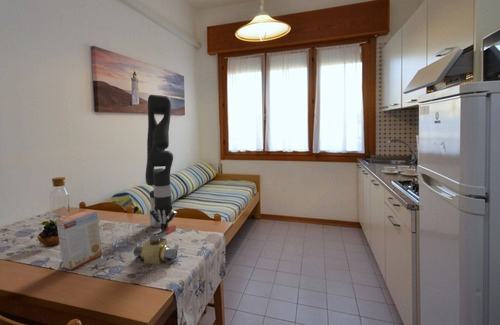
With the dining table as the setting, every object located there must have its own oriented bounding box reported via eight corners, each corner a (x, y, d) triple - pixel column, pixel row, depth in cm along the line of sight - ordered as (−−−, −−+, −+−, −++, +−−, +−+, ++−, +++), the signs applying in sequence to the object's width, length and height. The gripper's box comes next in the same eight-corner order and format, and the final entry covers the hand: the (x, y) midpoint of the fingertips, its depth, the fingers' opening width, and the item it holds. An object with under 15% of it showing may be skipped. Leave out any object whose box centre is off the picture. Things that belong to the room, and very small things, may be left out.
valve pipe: (132, 262, 113) (130, 243, 112) (142, 254, 120) (140, 236, 118) (171, 265, 110) (170, 246, 108) (179, 256, 116) (178, 239, 115)
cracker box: (94, 252, 122) (89, 209, 119) (102, 255, 119) (98, 210, 116) (61, 267, 109) (55, 219, 106) (70, 270, 107) (64, 221, 104)
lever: (155, 243, 111) (154, 238, 110) (147, 242, 112) (147, 236, 112) (177, 230, 124) (177, 225, 123) (170, 229, 125) (170, 224, 125)
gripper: (144, 195, 118) (147, 232, 121) (172, 197, 115) (173, 234, 118) (153, 191, 125) (155, 226, 128) (179, 193, 123) (181, 228, 125)
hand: (164, 230), depth 123 cm, fingers closed
